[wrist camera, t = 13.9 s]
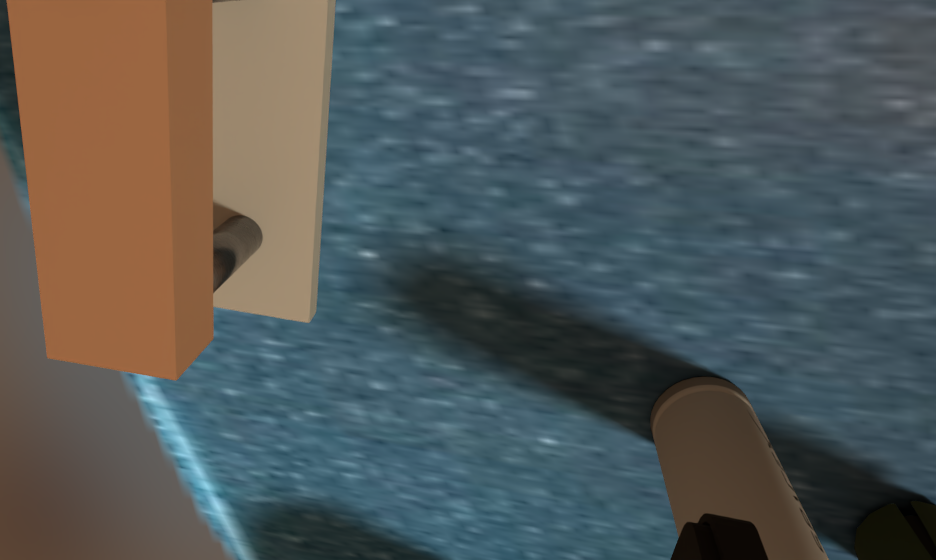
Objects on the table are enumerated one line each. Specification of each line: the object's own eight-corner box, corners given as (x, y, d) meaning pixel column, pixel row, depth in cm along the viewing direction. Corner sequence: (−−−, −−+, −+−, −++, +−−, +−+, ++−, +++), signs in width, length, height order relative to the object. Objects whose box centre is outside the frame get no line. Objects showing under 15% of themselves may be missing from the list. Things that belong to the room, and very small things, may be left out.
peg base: (103, -161, 35) (86, -167, 33) (343, -124, 34) (335, -128, 33) (129, 280, 44) (116, 290, 43) (316, 312, 44) (309, 322, 43)
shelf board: (62, -132, 28) (-10, -148, 24) (212, -108, 27) (162, -121, 24) (97, 318, 36) (47, 357, 32) (213, 338, 36) (176, 380, 32)
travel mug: (647, 462, 46) (721, 778, 28) (651, 375, 44) (734, 661, 25) (746, 461, 46) (887, 786, 27) (755, 373, 43) (917, 666, 25)
